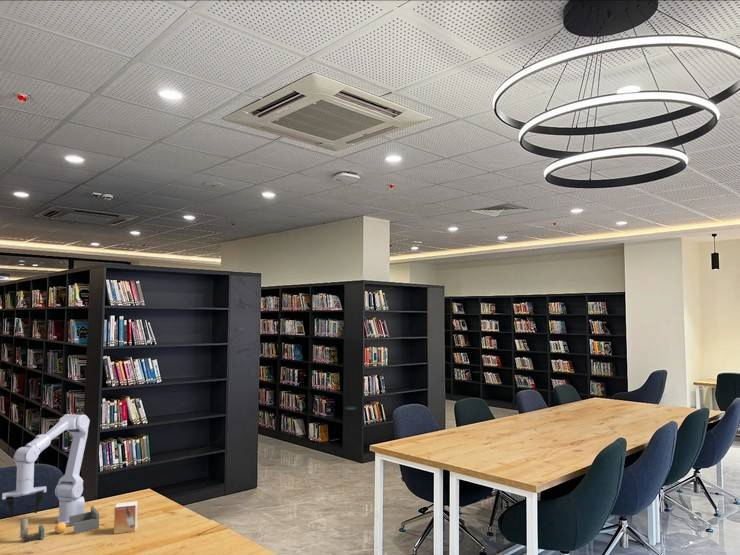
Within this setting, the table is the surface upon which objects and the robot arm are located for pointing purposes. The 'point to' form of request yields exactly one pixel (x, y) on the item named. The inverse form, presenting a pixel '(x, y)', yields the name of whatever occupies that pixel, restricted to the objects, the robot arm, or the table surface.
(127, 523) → the small box
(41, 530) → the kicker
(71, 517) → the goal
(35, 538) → the track
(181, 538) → the table surface
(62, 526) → the ball
